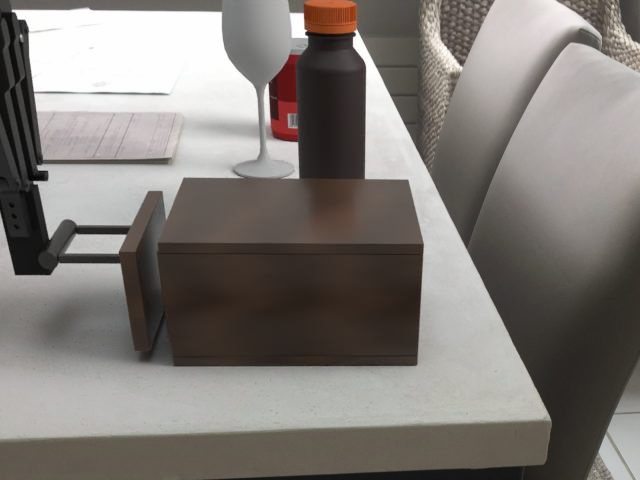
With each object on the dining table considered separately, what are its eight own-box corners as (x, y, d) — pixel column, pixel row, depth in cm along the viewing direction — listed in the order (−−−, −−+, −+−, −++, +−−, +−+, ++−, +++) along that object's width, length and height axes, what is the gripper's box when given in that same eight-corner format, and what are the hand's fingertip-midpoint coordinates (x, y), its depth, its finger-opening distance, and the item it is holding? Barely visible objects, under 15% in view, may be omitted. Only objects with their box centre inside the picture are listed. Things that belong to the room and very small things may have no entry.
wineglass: (230, 161, 109) (215, -39, 97) (293, 159, 111) (286, -39, 98) (234, 180, 103) (218, -30, 91) (299, 178, 105) (293, -30, 92)
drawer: (43, 351, 67) (20, 251, 62) (82, 280, 78) (64, 189, 73) (365, 351, 68) (366, 252, 64) (359, 281, 79) (360, 192, 74)
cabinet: (173, 366, 68) (157, 242, 62) (195, 287, 79) (183, 177, 73) (417, 365, 69) (424, 243, 63) (403, 288, 80) (408, 179, 75)
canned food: (341, 135, 120) (341, 44, 113) (296, 145, 116) (292, 51, 109) (304, 123, 124) (302, 35, 118) (259, 133, 120) (254, 41, 113)
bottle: (374, 214, 96) (378, 1, 83) (348, 234, 91) (349, 11, 78) (317, 205, 98) (312, -5, 85) (288, 224, 92) (280, 4, 80)
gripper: (-17, -83, 51) (63, 306, 65) (43, -96, 61) (101, 241, 75) (-153, -86, 50) (-42, 306, 65) (-70, -99, 61) (10, 241, 75)
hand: (35, 271), depth 70 cm, fingers closed
